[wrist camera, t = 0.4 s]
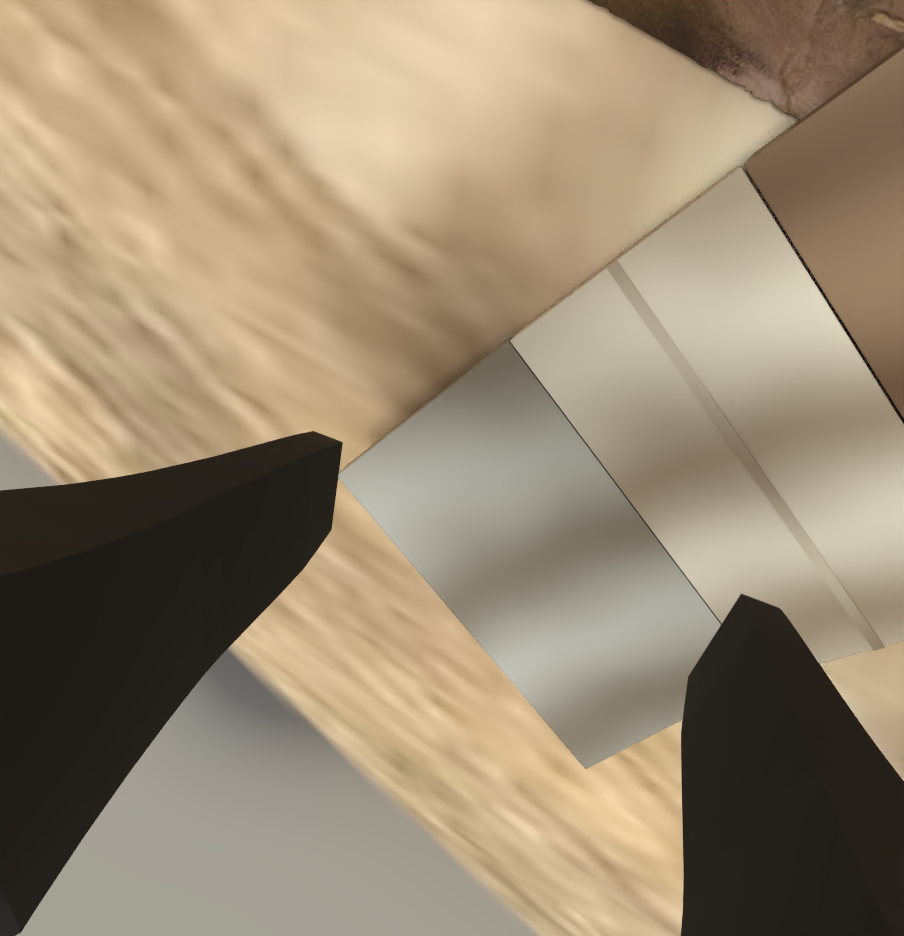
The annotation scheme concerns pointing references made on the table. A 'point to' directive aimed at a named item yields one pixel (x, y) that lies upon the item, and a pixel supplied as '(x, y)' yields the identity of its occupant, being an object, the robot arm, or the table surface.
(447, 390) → the grey oak plank
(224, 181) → the table surface
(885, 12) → the fossil skeleton slab
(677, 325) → the ash board
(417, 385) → the table surface
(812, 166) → the walnut plank
